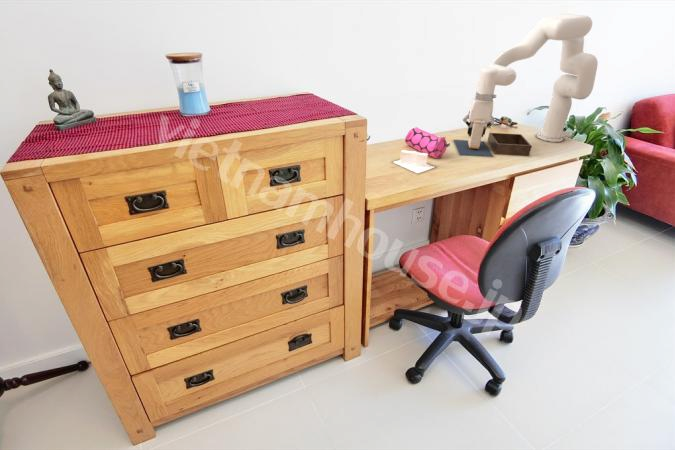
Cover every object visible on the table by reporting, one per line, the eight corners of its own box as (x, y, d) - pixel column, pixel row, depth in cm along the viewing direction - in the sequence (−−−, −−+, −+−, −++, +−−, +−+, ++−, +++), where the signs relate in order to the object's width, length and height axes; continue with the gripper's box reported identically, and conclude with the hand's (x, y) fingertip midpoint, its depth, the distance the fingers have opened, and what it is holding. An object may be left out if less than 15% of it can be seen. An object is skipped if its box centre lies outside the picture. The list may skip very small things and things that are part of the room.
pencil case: (448, 156, 173) (452, 135, 167) (434, 160, 168) (437, 139, 162) (415, 142, 187) (418, 123, 182) (401, 146, 182) (403, 126, 177)
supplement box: (479, 149, 178) (485, 122, 170) (469, 148, 178) (474, 121, 171) (477, 143, 184) (483, 116, 177) (467, 142, 185) (472, 116, 178)
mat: (483, 142, 190) (483, 141, 190) (492, 156, 173) (493, 156, 173) (453, 140, 191) (454, 139, 191) (460, 155, 174) (460, 154, 174)
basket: (518, 143, 188) (521, 134, 186) (528, 156, 174) (532, 145, 172) (487, 142, 190) (489, 132, 187) (494, 154, 176) (497, 144, 173)
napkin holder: (392, 162, 166) (393, 150, 163) (409, 156, 172) (411, 144, 169) (417, 173, 156) (419, 160, 153) (435, 167, 162) (437, 154, 159)
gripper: (501, 95, 171) (491, 134, 181) (463, 94, 173) (456, 132, 183) (505, 99, 165) (495, 139, 175) (466, 98, 167) (458, 137, 176)
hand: (475, 135), depth 179 cm, fingers closed on supplement box, 5 cm apart
